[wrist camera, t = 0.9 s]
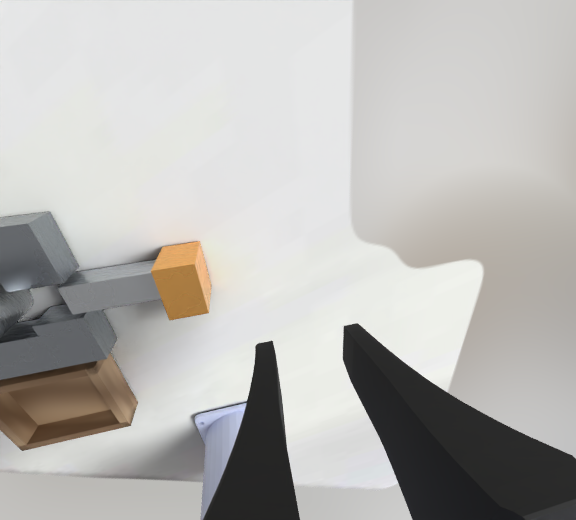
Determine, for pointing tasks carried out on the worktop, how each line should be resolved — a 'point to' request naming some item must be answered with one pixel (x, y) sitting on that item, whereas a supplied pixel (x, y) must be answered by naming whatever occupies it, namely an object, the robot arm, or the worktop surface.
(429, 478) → the robot arm
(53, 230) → the socket
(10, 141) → the worktop surface
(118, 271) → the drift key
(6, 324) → the silver metal canister
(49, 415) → the square wooden tray
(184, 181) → the worktop surface
